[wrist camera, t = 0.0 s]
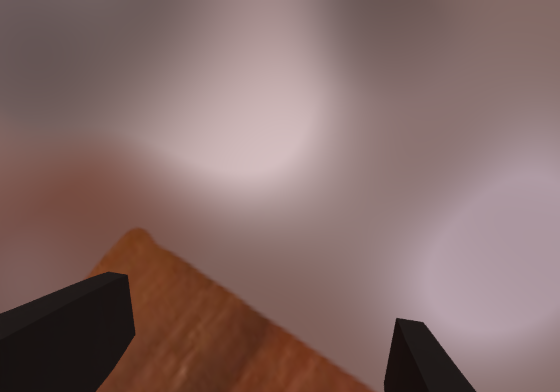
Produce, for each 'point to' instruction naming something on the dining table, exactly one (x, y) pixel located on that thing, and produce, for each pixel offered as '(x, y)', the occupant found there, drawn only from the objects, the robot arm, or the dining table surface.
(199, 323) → the dining table surface
